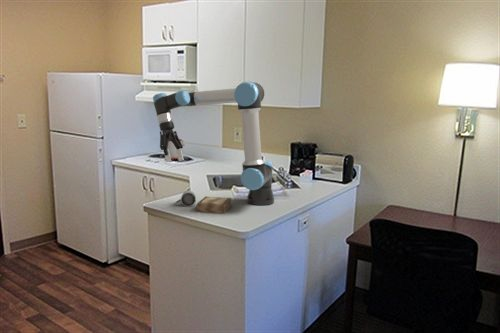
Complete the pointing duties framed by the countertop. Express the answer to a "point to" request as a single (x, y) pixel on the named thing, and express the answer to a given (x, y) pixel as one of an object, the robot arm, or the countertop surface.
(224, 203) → the block
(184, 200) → the ceramic mug
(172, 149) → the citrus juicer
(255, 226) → the countertop surface
